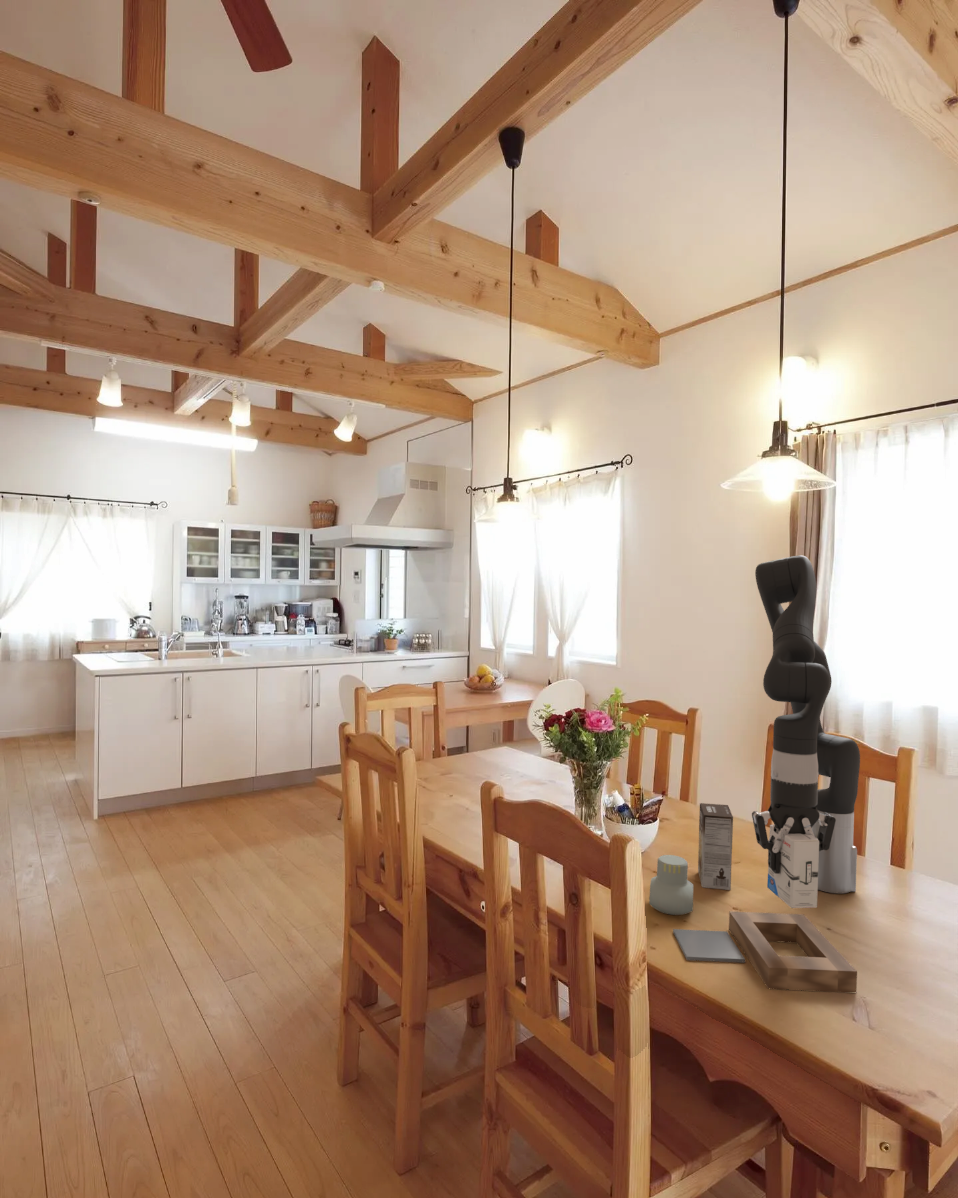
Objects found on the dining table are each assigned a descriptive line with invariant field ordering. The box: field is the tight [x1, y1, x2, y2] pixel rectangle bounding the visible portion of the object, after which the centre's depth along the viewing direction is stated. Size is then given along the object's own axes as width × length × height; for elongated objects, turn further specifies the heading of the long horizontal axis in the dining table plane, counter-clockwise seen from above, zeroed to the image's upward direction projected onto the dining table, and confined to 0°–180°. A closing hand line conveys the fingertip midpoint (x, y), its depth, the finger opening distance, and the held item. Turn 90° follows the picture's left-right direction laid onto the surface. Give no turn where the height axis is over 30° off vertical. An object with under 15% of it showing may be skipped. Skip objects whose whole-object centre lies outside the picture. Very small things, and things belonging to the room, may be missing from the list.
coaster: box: [672, 928, 746, 964], centre depth 127 cm, size 10×10×1 cm
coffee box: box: [697, 802, 734, 891], centre depth 156 cm, size 9×6×16 cm
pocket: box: [728, 910, 858, 993], centre depth 123 cm, size 14×20×4 cm
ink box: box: [766, 824, 819, 909], centre depth 123 cm, size 9×5×12 cm, turn 5°
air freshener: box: [648, 854, 694, 916], centre depth 142 cm, size 11×8×10 cm
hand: (792, 872), depth 123 cm, fingers closed on ink box, 5 cm apart
